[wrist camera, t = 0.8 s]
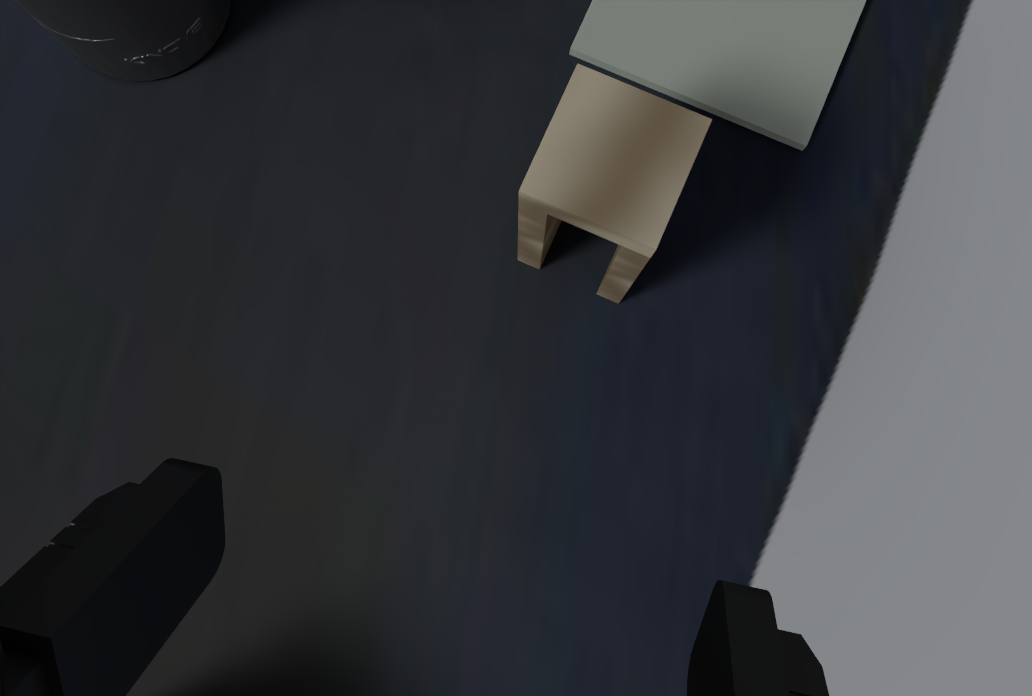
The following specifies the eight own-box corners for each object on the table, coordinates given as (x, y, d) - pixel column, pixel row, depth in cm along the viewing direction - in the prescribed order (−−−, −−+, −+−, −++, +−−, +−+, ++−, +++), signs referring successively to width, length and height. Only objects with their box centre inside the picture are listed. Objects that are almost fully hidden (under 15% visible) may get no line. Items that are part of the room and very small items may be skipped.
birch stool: (517, 259, 38) (518, 191, 28) (561, 164, 38) (577, 63, 28) (618, 303, 37) (656, 249, 27) (660, 206, 38) (712, 119, 28)
